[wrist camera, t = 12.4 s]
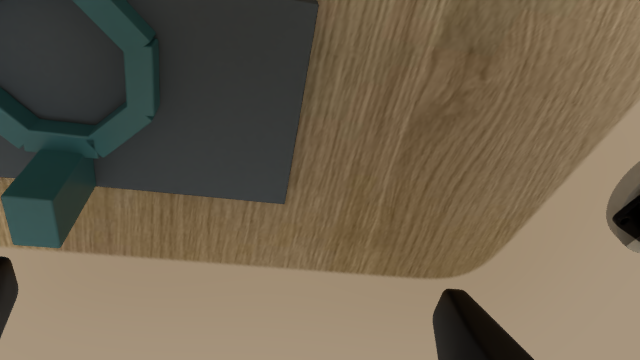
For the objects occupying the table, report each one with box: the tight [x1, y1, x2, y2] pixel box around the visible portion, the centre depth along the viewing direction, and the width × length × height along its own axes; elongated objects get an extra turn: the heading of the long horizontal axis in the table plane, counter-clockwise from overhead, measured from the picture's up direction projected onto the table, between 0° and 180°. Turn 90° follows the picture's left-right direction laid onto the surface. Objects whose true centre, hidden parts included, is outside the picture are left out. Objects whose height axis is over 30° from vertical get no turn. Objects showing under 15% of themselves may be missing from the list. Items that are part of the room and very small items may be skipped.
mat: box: [0, 0, 319, 204], centre depth 17 cm, size 18×9×1 cm, turn 80°
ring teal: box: [0, 0, 160, 248], centre depth 15 cm, size 9×7×4 cm
